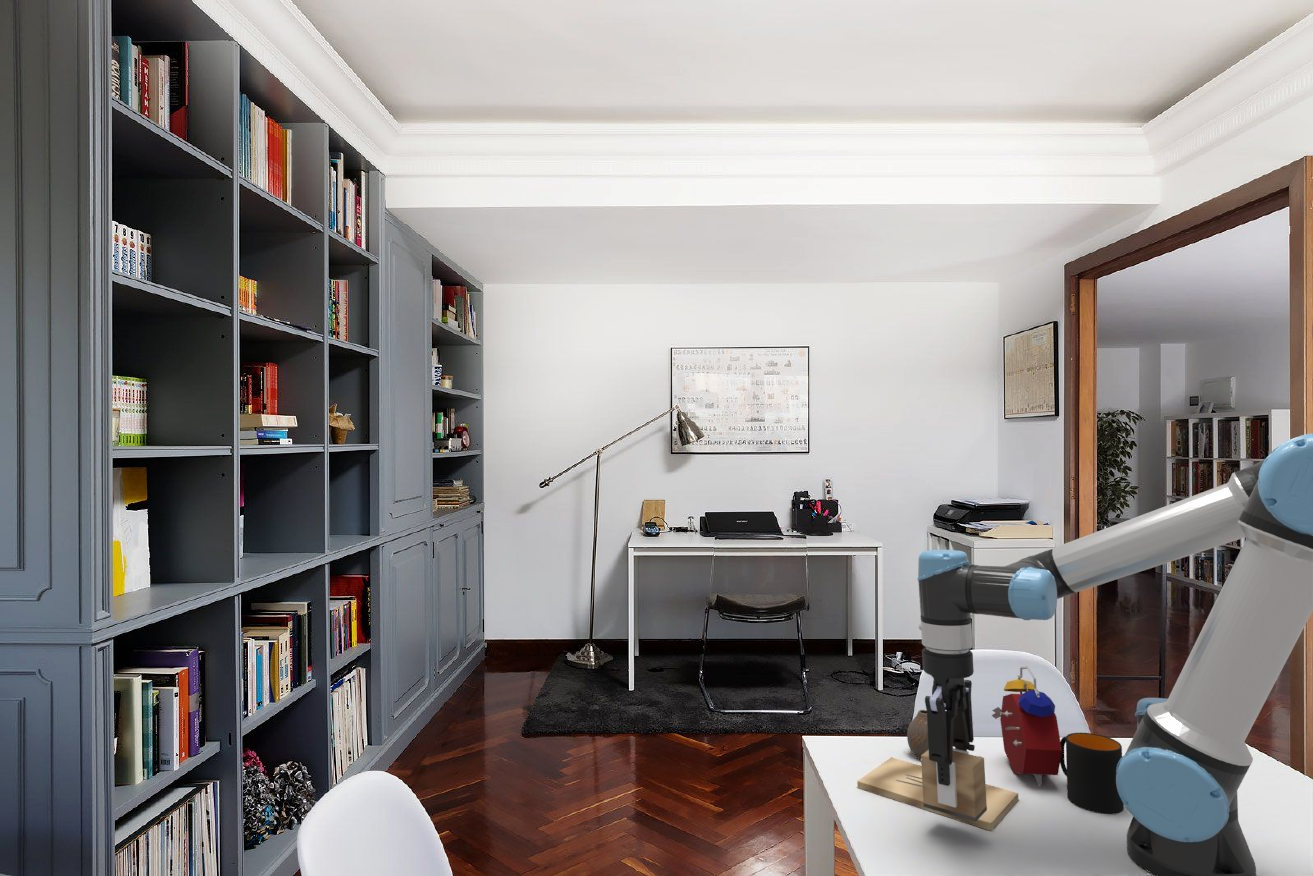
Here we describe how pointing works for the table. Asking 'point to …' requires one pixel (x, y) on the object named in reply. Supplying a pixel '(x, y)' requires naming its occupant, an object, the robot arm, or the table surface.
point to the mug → (1092, 772)
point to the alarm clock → (1029, 729)
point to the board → (907, 787)
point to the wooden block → (957, 786)
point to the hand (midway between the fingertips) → (954, 797)
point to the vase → (918, 734)
